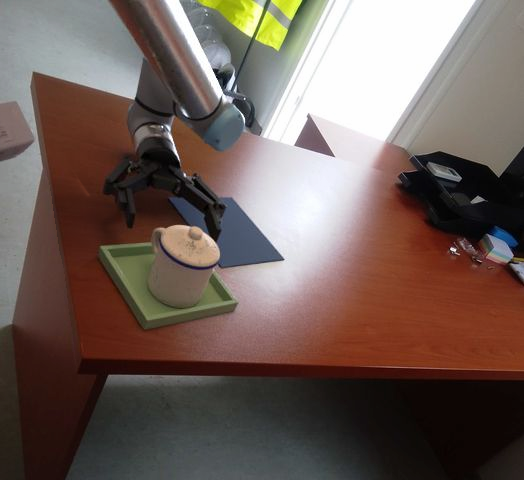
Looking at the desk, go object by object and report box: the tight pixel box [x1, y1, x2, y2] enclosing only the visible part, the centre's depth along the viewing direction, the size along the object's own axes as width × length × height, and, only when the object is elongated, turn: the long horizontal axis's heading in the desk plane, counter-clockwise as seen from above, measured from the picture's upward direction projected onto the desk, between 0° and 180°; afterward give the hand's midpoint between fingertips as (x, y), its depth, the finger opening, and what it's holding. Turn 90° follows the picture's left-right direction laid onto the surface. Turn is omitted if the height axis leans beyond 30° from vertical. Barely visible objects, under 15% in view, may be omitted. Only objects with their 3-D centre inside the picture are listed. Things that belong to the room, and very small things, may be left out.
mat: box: [167, 196, 285, 269], centre depth 90 cm, size 20×16×1 cm
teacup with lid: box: [148, 224, 220, 308], centre depth 68 cm, size 12×9×12 cm
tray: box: [97, 241, 239, 331], centre depth 72 cm, size 16×17×2 cm
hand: (176, 229), depth 70 cm, fingers open, 13 cm apart
